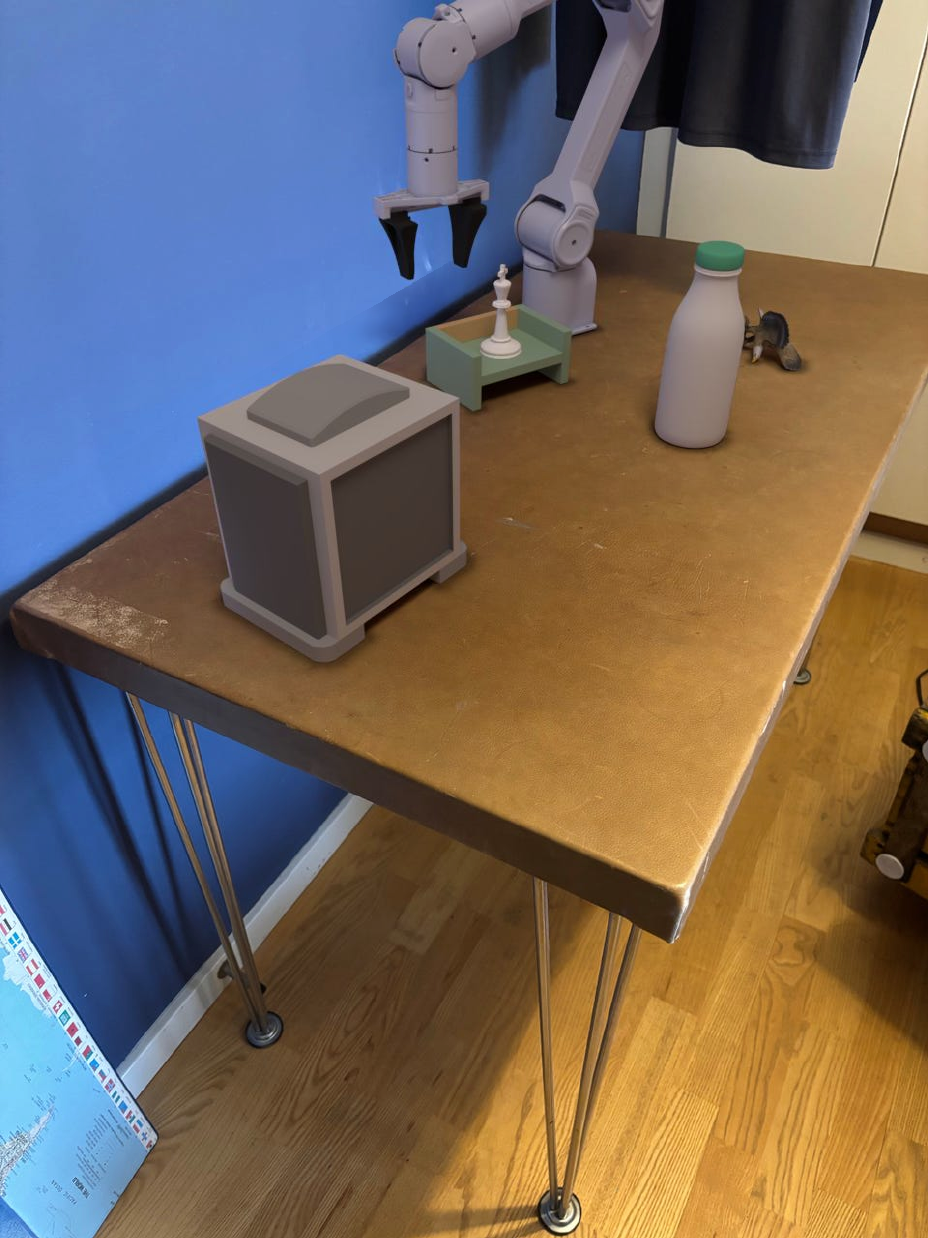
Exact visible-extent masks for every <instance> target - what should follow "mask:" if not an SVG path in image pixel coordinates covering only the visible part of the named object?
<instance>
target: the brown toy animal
mask: <svg viewBox="0 0 928 1238" xmlns="http://www.w3.org/2000/svg"><path fill="white" fill-rule="evenodd" d="M757 311H758V316H759V324H757V325H751V326H750V324H751V321H750V319H749V317H748V316H747V315H744V320H745V321H744V324H745V331H744V341H743V348H745V346H746V345H747V344H750V343H753V344H752V345H753V354H752V360H751V363H752V364H753V363H755V362H756V361H757V360H758V359H760V357H761V355H762V353H763V352H762V351H763V349H764V348H770V349H772V350H773V351H774V352H775V353H776V355H777V356H778V357H779V359H780V361H781V363H782V365H783V367H784V369H786V370H790V371H794V372H798V371H800V370H801V369H802V367H803V365H802V364H803V362H802V358H801V356H800V354H799V353H798V351H797V349H796V348H795V347H794V346H793V345H792V344H791V343H790V336H791V333H790V329H789V326H790V325H789V323H788V321H787V319H786V317H785V316H784V314H782V312H777V311H772V310H768V311H766V312H765V313H764V312H763V310H762V309H761V308H760V307H758V308H757ZM747 334H751V335H750V336H749V337H747ZM743 348H742V349H743Z"/></svg>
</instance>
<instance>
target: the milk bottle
mask: <svg viewBox="0 0 928 1238" xmlns="http://www.w3.org/2000/svg"><path fill="white" fill-rule="evenodd" d="M745 256H746V249H745V248H744V246H742V245H741V244H738V243H736V242H732V241H728V240H708V241H703V242H701V243H699V244H698V245H697V247H696V251H695V256H694V261H695V262H694V265H693V269H694V270H695V272H694V277H693V280H692V283H691V285H690V286H689V288H688V290H687V292H686V294H685V295H684V297H683V299H682V301H681V302H680V304H679V305H678V307H677V309H676V310H675V313H674V315H673V316H672V320H671V323H670V326H669V328H668V329H669V330H668V335H667V340H666V346H665V351H664V357H663V358H664V359H663V365H662V370H661V377H660V382H659V383H660V385H659V389H658V390H659V391H658V397H657V404H656V406H657V407H656V412H655V417H654V419H655V420H654V429H655V432H656V434H657V436H658V437H659V438H660V439H662V440H663V441H664V442H666V443H669V444H670V445H673V446H677V447H681V448H688V449H704V448H709V447H713V446H715V445H717V444H719V443H720V442H721V441H722V440H723V439H724V437H725V436H726V432H727V428H728V424H729V419H730V415H731V409H732V404H733V399H734V396H735V395H734V394H735V391H736V390H735V388H736V385H737V380H738V373H739V371H740V370H739V369H740V364H741V359H742V354H743V341H744V331H745V315H744V311H743V308H742V303H741V299H740V295H739V283H738V281H739V275H740V274H741V273H742V271H743V265H744V261H745Z"/></svg>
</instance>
